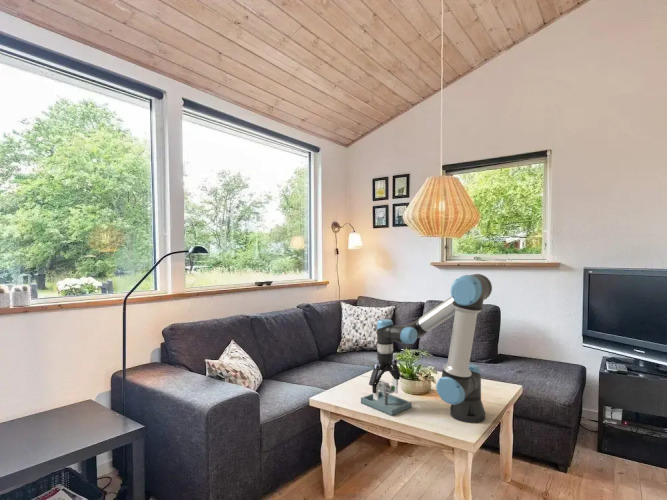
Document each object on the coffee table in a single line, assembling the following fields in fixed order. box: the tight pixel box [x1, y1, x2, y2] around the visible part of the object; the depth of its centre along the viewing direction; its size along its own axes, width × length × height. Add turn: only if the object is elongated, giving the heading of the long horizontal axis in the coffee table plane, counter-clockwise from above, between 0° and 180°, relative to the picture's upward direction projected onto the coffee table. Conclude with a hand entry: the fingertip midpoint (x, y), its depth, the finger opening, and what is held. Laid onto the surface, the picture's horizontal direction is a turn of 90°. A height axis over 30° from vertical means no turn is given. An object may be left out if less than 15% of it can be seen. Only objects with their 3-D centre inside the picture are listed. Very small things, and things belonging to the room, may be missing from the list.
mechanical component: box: [377, 380, 395, 405], centre depth 185 cm, size 3×10×10 cm, turn 41°
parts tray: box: [360, 390, 413, 417], centre depth 185 cm, size 20×14×3 cm
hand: (385, 396), depth 185 cm, fingers open, 13 cm apart
